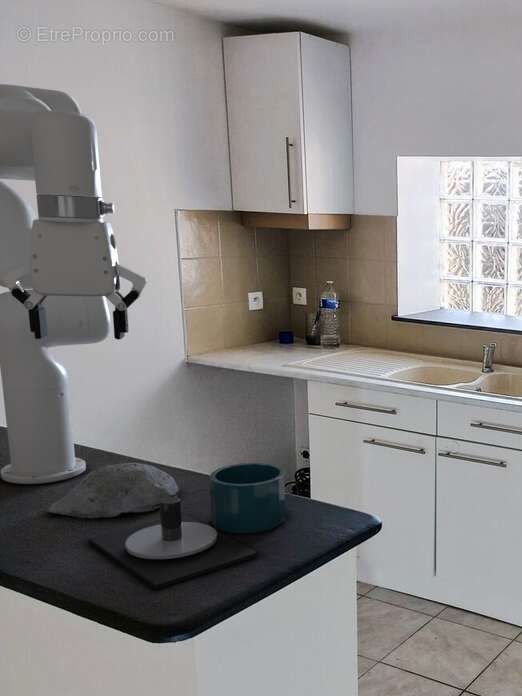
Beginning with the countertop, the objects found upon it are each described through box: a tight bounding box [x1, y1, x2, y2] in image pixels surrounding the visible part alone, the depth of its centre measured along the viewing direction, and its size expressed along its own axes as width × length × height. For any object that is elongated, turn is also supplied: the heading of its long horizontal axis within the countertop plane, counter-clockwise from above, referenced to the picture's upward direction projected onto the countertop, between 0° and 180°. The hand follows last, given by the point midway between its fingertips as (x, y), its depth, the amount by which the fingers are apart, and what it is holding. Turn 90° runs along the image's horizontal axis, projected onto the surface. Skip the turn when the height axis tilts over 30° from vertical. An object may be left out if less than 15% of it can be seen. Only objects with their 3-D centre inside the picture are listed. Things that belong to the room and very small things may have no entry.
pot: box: [209, 462, 287, 534], centre depth 121 cm, size 11×11×8 cm
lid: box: [125, 496, 217, 559], centre depth 110 cm, size 12×12×7 cm
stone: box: [46, 462, 181, 519], centre depth 127 cm, size 18×8×15 cm
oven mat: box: [88, 513, 258, 590], centre depth 111 cm, size 20×14×1 cm
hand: (81, 337), depth 109 cm, fingers open, 9 cm apart
